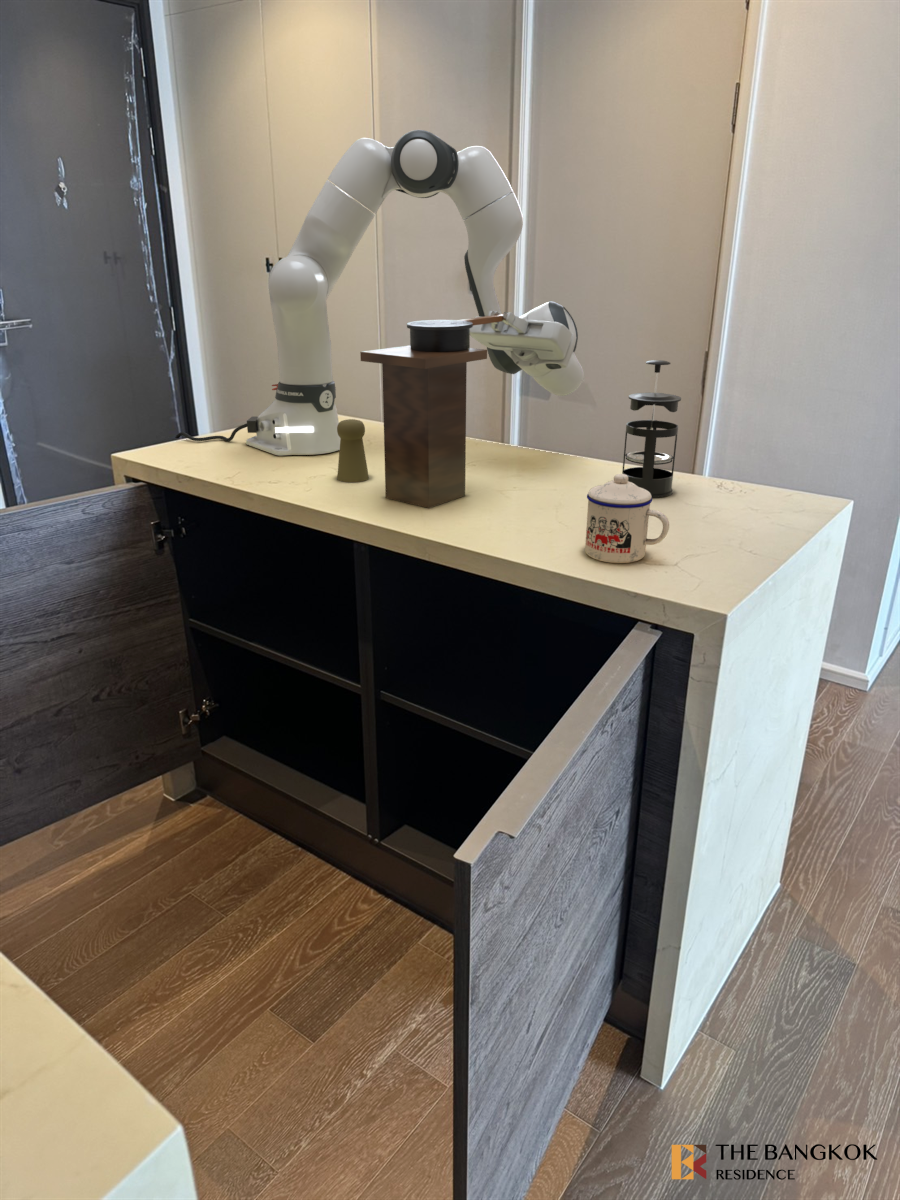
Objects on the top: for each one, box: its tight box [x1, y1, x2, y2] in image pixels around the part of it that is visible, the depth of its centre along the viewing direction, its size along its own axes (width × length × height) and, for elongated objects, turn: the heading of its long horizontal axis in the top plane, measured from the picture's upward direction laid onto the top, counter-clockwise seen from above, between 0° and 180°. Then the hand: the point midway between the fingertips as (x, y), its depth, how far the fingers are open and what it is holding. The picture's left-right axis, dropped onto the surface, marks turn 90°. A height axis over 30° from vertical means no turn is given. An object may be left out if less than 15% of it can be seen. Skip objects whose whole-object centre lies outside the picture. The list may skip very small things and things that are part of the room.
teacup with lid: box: [584, 473, 670, 564], centre depth 122 cm, size 12×9×12 cm
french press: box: [621, 359, 682, 499], centre depth 152 cm, size 12×9×23 cm
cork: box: [336, 418, 370, 483], centre depth 162 cm, size 6×6×11 cm
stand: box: [359, 344, 488, 509], centre depth 147 cm, size 14×16×25 cm
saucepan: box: [406, 313, 504, 352], centre depth 150 cm, size 11×25×4 cm, turn 141°
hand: (498, 315), depth 156 cm, fingers closed on saucepan, 2 cm apart
